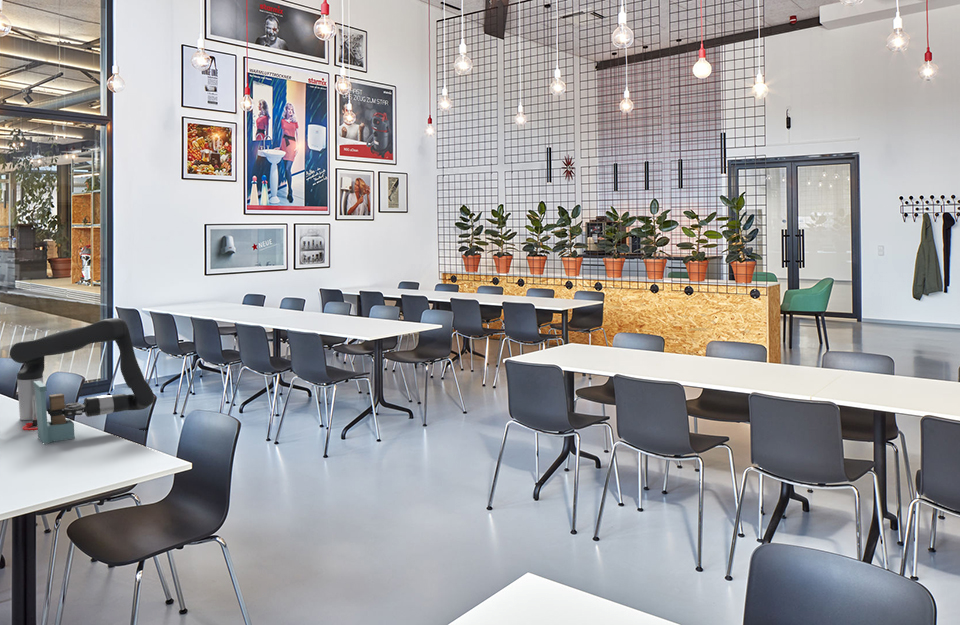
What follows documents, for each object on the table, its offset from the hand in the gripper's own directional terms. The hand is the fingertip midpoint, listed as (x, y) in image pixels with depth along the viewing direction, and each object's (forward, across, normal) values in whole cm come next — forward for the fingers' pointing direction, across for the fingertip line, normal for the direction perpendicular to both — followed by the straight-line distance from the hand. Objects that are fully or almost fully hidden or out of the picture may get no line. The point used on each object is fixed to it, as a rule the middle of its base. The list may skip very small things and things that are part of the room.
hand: (49, 412), depth 273 cm
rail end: (-3, 0, +10) cm, 10 cm away
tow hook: (+2, -24, +11) cm, 26 cm away
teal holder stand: (-3, 0, +10) cm, 11 cm away
